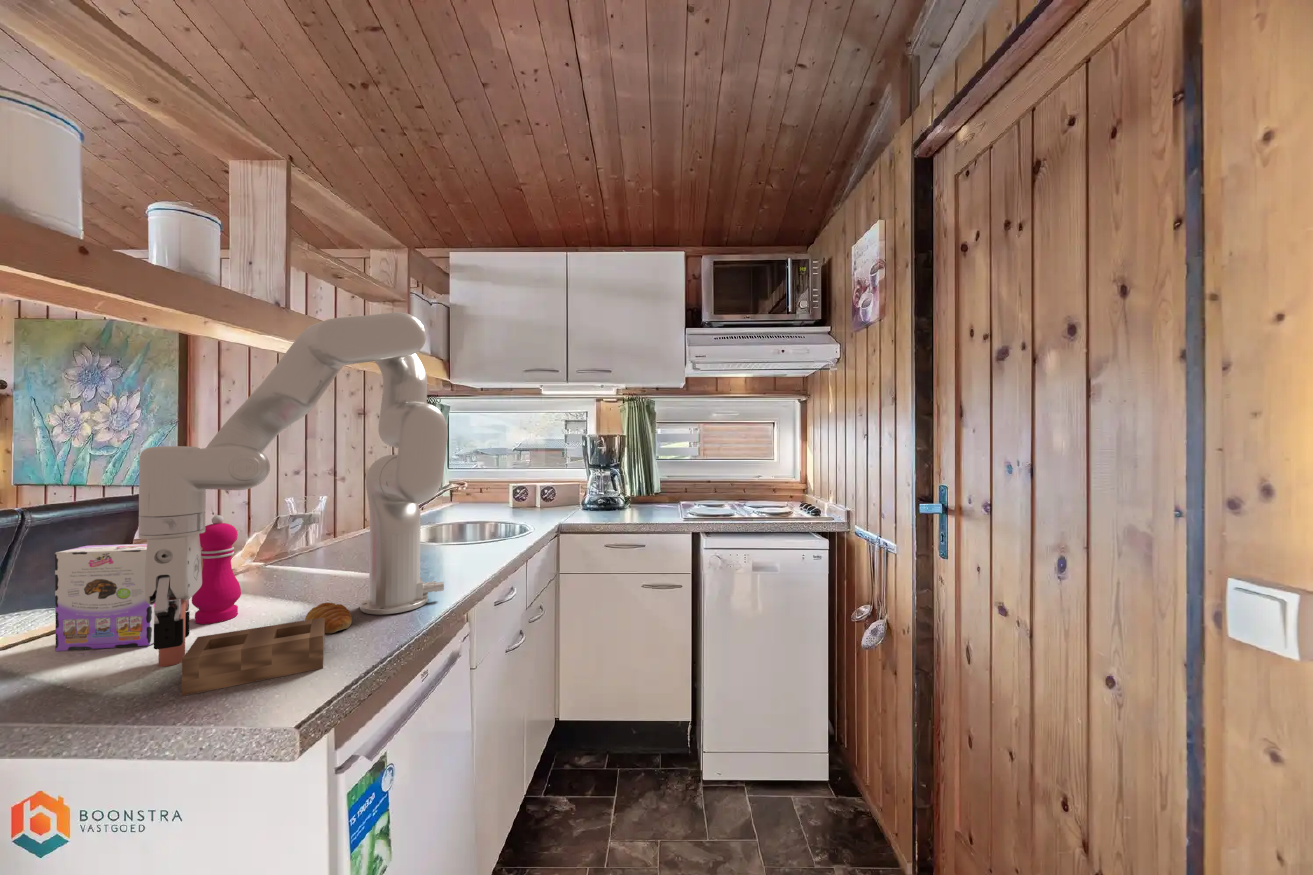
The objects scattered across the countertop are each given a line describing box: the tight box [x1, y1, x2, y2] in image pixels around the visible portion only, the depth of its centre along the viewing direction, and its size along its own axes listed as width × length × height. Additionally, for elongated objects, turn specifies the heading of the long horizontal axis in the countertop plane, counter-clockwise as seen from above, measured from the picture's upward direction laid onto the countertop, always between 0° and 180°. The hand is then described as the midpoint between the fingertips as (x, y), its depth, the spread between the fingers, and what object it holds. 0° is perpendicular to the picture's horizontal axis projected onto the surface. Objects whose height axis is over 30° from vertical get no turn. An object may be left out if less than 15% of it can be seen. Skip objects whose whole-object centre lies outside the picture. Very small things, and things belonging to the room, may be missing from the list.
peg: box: [157, 596, 187, 668], centre depth 78 cm, size 3×3×10 cm
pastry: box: [304, 602, 352, 634], centre depth 93 cm, size 9×7×4 cm
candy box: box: [54, 543, 155, 652], centre depth 86 cm, size 14×6×16 cm, turn 99°
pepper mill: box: [191, 514, 242, 625], centre depth 97 cm, size 7×7×20 cm
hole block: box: [181, 617, 326, 697], centre depth 76 cm, size 16×9×5 cm, turn 122°
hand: (172, 641), depth 78 cm, fingers closed on peg, 3 cm apart
